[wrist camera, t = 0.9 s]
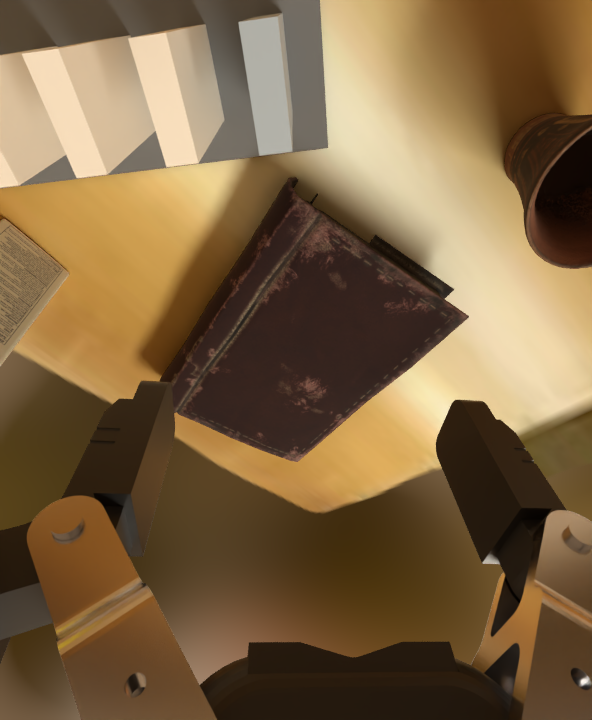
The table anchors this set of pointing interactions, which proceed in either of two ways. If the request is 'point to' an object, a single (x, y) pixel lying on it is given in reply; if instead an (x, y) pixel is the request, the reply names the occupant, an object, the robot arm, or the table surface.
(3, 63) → the domino
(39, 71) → the domino
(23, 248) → the skincare box
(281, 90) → the domino
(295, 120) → the mat
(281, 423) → the diary
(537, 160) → the cup
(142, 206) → the table surface
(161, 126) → the domino
